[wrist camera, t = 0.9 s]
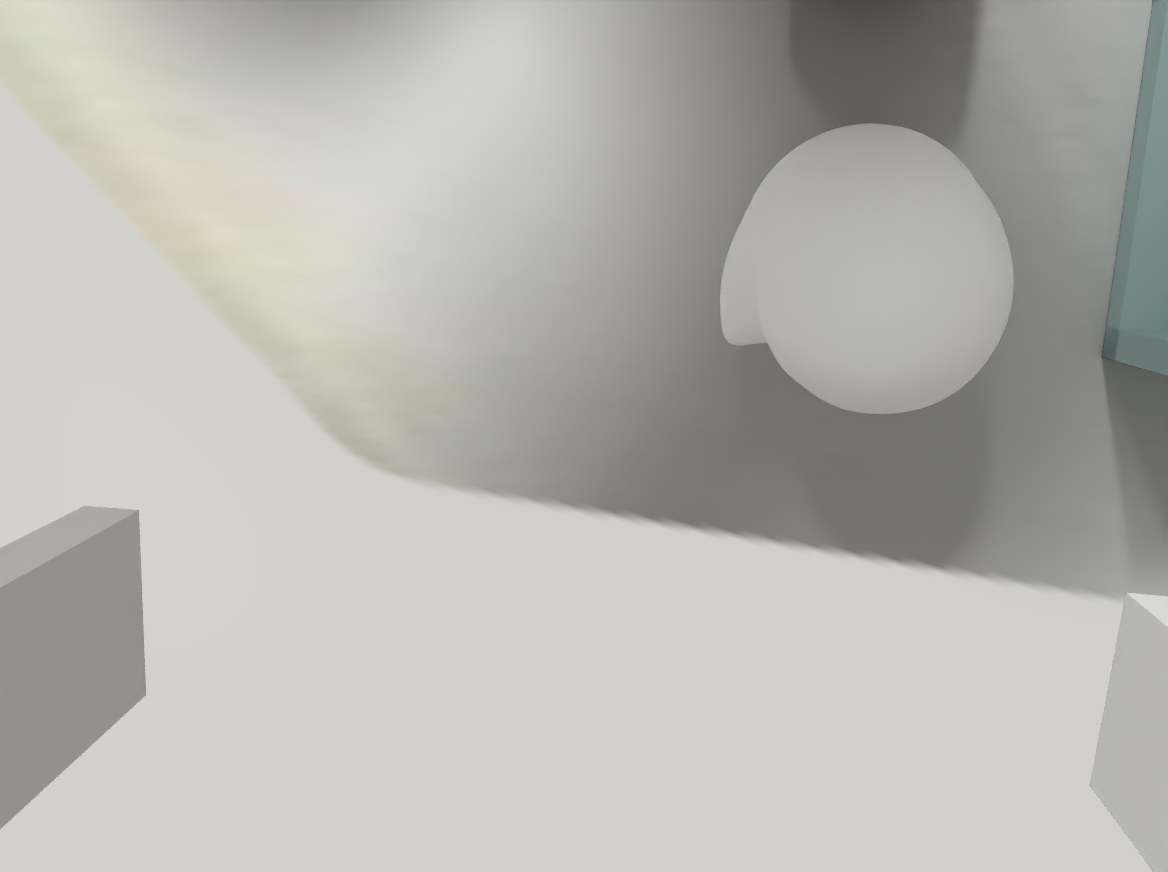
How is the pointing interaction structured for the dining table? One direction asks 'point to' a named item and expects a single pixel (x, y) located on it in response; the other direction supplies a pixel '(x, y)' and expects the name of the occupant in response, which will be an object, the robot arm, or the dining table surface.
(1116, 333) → the cradle
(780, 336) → the figurine
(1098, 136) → the dining table surface
